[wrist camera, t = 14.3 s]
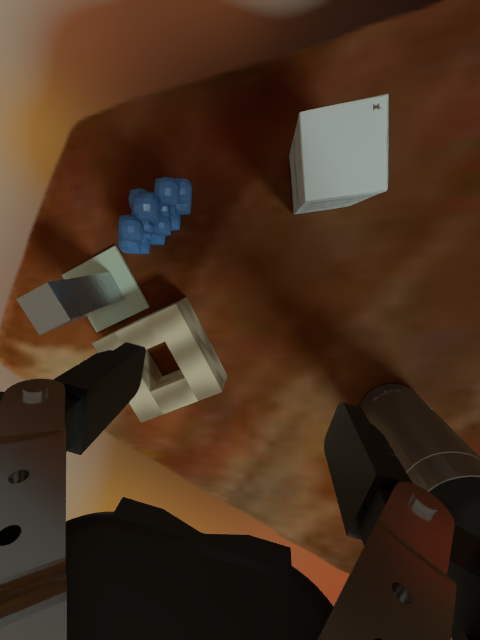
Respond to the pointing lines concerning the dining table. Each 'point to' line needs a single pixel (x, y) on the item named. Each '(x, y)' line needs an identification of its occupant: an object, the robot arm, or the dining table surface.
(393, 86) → the dining table surface
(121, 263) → the mat
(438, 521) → the robot arm
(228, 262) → the dining table surface
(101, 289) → the peg
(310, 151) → the supplement box
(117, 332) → the holder
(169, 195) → the grapes
